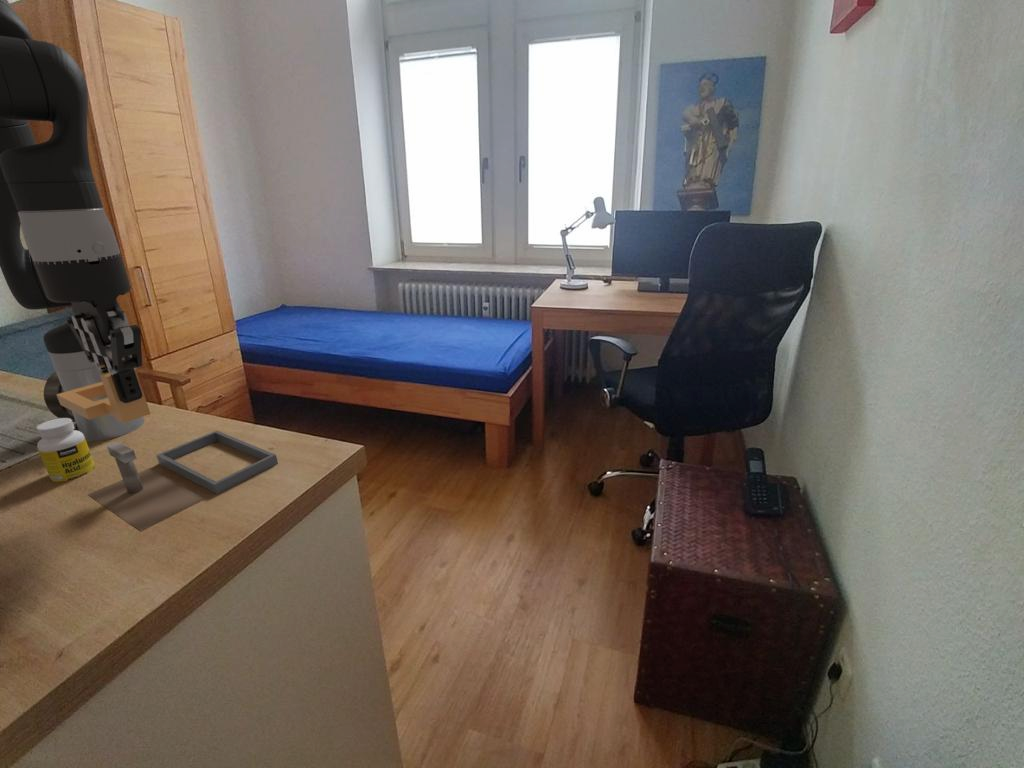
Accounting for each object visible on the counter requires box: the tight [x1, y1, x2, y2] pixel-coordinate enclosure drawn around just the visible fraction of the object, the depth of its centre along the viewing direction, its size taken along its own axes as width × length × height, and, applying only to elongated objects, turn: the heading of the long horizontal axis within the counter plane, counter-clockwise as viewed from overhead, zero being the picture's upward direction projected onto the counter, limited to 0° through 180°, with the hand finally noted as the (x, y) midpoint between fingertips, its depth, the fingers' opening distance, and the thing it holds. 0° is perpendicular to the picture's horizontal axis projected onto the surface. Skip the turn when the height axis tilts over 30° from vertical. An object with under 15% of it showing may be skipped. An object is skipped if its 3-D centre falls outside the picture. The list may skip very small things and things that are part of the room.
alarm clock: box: [43, 370, 79, 431], centre depth 93 cm, size 11×5×16 cm, turn 168°
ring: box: [56, 368, 151, 423], centre depth 64 cm, size 14×6×6 cm, turn 58°
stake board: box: [87, 441, 206, 532], centre depth 69 cm, size 16×8×8 cm, turn 58°
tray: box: [156, 430, 279, 495], centre depth 78 cm, size 17×10×3 cm, turn 58°
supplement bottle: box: [36, 418, 96, 483], centre depth 75 cm, size 5×5×10 cm
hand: (127, 397), depth 61 cm, fingers closed on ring
